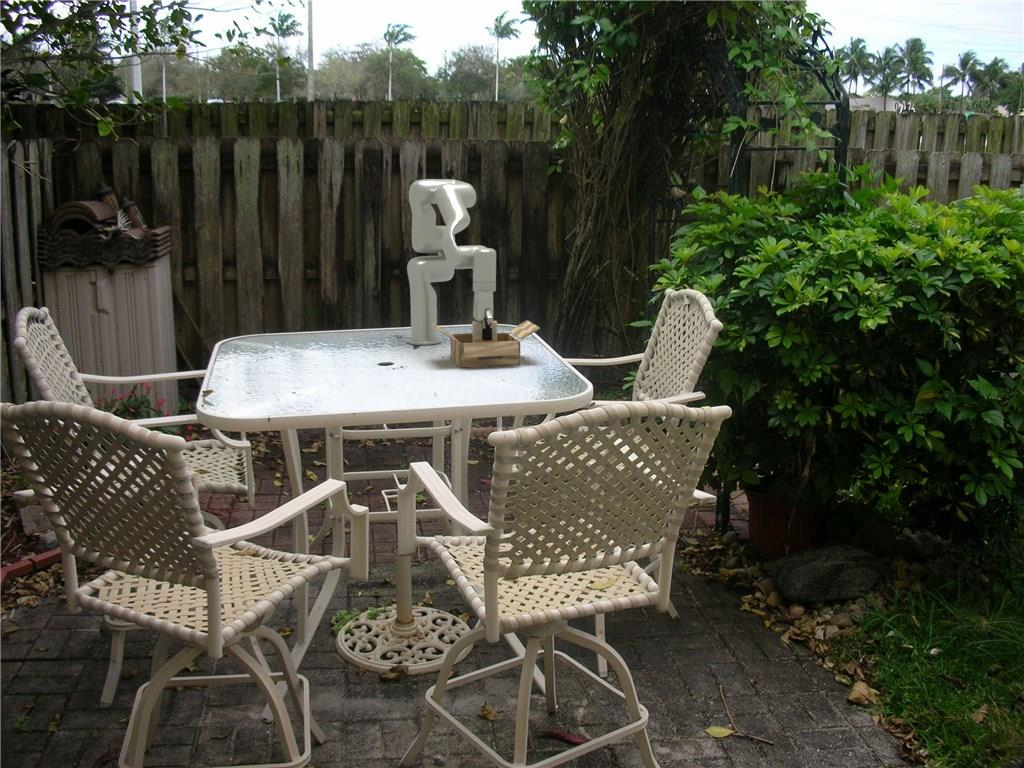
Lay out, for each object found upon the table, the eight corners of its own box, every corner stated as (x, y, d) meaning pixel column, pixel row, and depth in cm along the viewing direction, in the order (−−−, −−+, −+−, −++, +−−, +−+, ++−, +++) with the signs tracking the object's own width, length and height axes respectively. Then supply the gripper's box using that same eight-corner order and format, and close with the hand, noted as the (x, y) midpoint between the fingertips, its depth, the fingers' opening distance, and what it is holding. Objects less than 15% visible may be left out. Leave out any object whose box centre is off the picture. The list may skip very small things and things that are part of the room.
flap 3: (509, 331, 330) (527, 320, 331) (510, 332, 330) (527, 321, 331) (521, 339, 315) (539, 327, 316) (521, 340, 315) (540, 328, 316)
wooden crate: (450, 358, 328) (450, 335, 326) (507, 355, 332) (508, 333, 331) (460, 368, 311) (459, 343, 310) (520, 365, 316) (520, 341, 314)
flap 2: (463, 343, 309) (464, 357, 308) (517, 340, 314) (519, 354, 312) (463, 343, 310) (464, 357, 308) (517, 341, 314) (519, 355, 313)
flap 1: (449, 334, 325) (431, 323, 323) (449, 333, 325) (431, 322, 323) (457, 342, 310) (439, 331, 308) (458, 341, 310) (439, 330, 308)
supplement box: (497, 358, 325) (497, 320, 322) (497, 361, 320) (497, 322, 317) (472, 358, 324) (472, 320, 322) (472, 361, 320) (472, 322, 317)
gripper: (467, 282, 324) (467, 333, 328) (478, 290, 308) (478, 342, 312) (489, 282, 326) (489, 332, 330) (501, 289, 309) (500, 342, 313)
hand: (483, 337), depth 321 cm, fingers open, 9 cm apart
